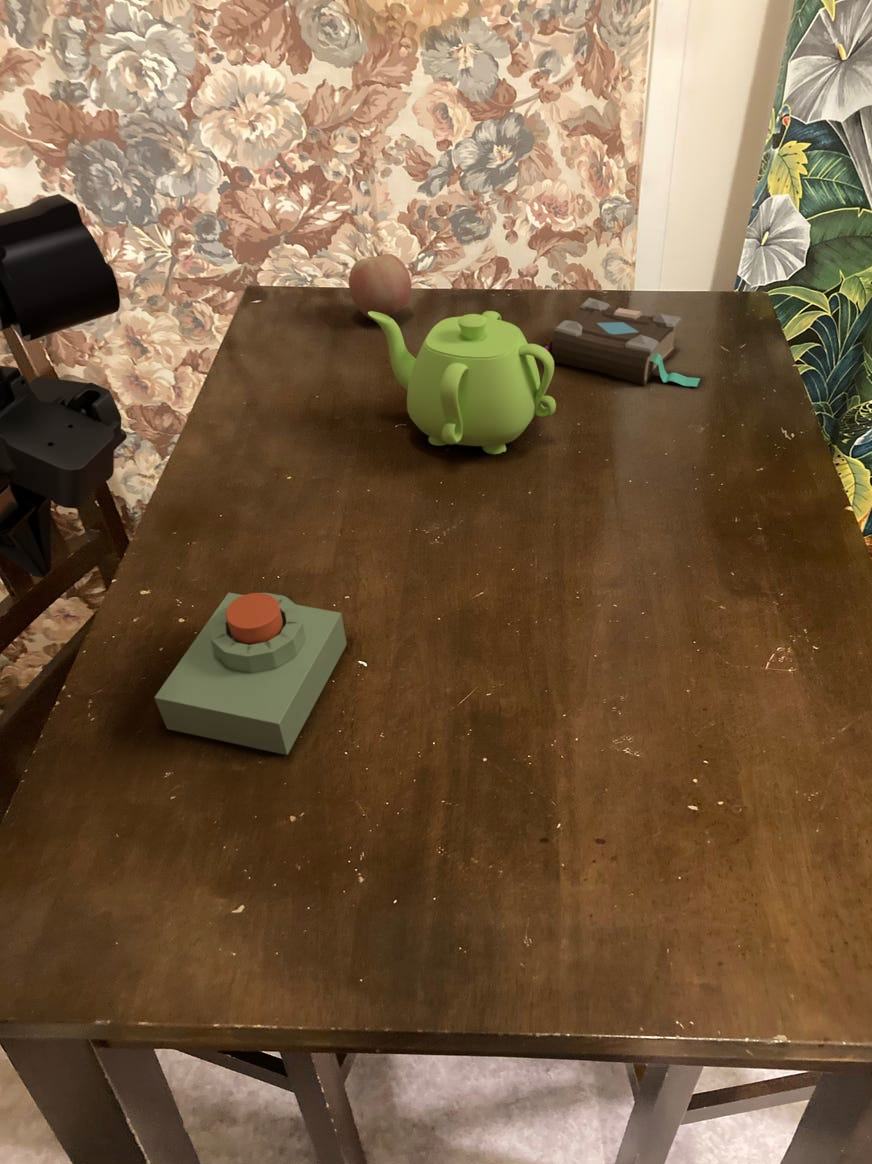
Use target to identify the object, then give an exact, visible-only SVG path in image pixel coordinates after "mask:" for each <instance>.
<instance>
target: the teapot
mask: <svg viewBox="0 0 872 1164" xmlns="http://www.w3.org/2000/svg"><path fill="white" fill-rule="evenodd" d="M368 315H369V316H370V317H371V318H373V319H374V320H373V321H374V322H376V323H377V324H378V325H379V327H380V328H381V329H382V331H383V333H384V336H385V337H386V342H387V347H388V354H389V361H390V365H391V370H392V373H393V375H394V376H395V379H396V380H397V381H398V383H399V384H400V386H402V387H403V388H404V389H405V390H406V391H407V394H406V409H407V413H408V416H409V418H410V420H412V422H413V423H414V425H416V427H417V428H418V429H419V430H420V431H421V432H422V433H424V434H425V435H426V436H429V437H428V439H427V440H428V443H429V444H431V445H432V446H437V447H440V446H446V445H460V446H468V447H482V450H483V452H484V453H487V454H490V455H497V454H498V455H499V454H501V453H503V452H504V453H505V452H507V447H506V444H509V443H511V442H514V441H515V440H516V439H518V438H519V437H520V435H521V434H523V432H524V431H525V430H526V428H527V427H528V426H529V425H530V423H531V422H532V420H533V419H534V417H535V416H536V417H538V418H542V419H545V418H549V417H551V416H552V415H553V414H554V413H555V412H556V410H557V401H556V400H555V399H554V398H553V397H552V395H545V394H546V392H547V390H548V389H549V386H550V384H551V382H552V379H553V376H554V371H555V362H554V360H553V358H552V353H550V352H548V351H547V350H546V349H545V348H544V347H543V346H541V345H539V344H536V343H528V341H527V339H526V337H525V335H524V333H523V332H522V330H521V329H520V327H518V326H517V325H515V324H514V323H510V322H509V321H505V320H502V316H501V314H500V313H499V312H497V311H494V310H486V311H483V312H482V314H479V313H478V314H477V313H468V314H464V315H462V316H453V317H448V318H443V319H442V320H440V321H439V322H438V323H436V324H435V325H434V326H433V327H432V328H431V329H430V331H429V332H428V334H426V336H425V339H424V341H423V342H422V344H421V346H420V349H419V351H418V354H417V356H416V357H415V356H413V355H412V354H411V353H410V352H409V350H408V349H407V346H406V344H405V340H404V337H403V334H402V331H401V328H400V327H399V325H398V323H397V322H396V321H395V320H394V319H393V318H392V317H391V316H390V317H389V316H387V315H385V314H382V313H378V312H373V311H370V312H368ZM535 358H536V359H538V360H539V361H540V362H541V363H542V365H543V368H544V372H543V375H542V378H541V379H540V373H539V368H538V365H537V361H536V359H535ZM543 404H546V405H547V407H546V406H543Z"/></svg>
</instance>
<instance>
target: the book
mask: <svg viewBox="0 0 872 1164" xmlns="http://www.w3.org/2000/svg"><path fill="white" fill-rule="evenodd" d="M681 323H682V318H681V316H676V315H672V314H671V315H670V314H665V313H664V314H663V313H655V314H653V315H652V316H651V315H644V314H643V312H642V310H634V309H626V308H622V307H618V308H614V307H611V305H610V304H609V303H608V302H605V301H601V300H598V299H596V298H593V297H588V298H587V299H586V300H585V301H584V302H583V303H581V304H580V305H579V311H577V312H576V313H575V315H574V316H572V317H571V318H570V319H568V320H566V319H565V320H563V321H562V322H561V323H559V325H557V326H556V327H555V328H554V329H553V337H552V340H551V341H550V344H549V345H545V346H544V347H543V348H545V349H546V350H547V351H548V352H549V353H550V352H551V356H552V358H553V360H554V363H558V364H562V365H566V366H570V367H571V366H572V367H576V368H579V369H584V370H589V371H592V372H593V371H594V372H598V373H602V374H605V375H608V376H611V377H615V378H618V379H621V380H625V381H628V382H631V383H635V384H639V385H642V386H646V384H647V383H648V382H649V380H650V379H651V378H652V376H653V375H654V374H655V372H656V371H657V370H658V371H659V376H660V378H661V381H662V382H663V383H667V382H674V383H676V384H679V385H681V386H684V387H696V388H697V387H698V386H699V382H700V380H701V378H699V377H688V376H685V375H682V374H680V373H677V372H670V373H667V371H666V369H665V366H664V362H665V361H666V360H667V359H668V358H669V357H670V356H671V355H672V354H674V352H675V347H674V342H675V334H676V330H677V328H678V327H679V326H680V324H681Z"/></svg>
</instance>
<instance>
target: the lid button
mask: <svg viewBox="0 0 872 1164" xmlns="http://www.w3.org/2000/svg"><path fill="white" fill-rule="evenodd" d="M264 593H265V592H252V593H247V594H242V595H243V596H241V597H239V598H237V599H235V600H234V601H233V602H232V603H231V604H230V605H229V606H228V608H227V610H226V619H227V623H228V626H229V629H230V633H231V635H232V637H233V638H234V639H235V640H236V641H238V642H240V643H243V644H248V645H253V644H258V643H263V642H267V641H269V640H271V639H272V638H274V637H275V636H277V635H278V634H279V632H280V631H281V629H282V626H283V620H282V616H281V612H280V607H279V604H278V602H277V600H276V599H275V598H274V597H272V596H270V595H268V594H264Z"/></svg>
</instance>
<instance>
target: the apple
mask: <svg viewBox="0 0 872 1164" xmlns="http://www.w3.org/2000/svg"><path fill="white" fill-rule="evenodd" d="M348 288H349V292H350V295H351V299H352V301H353V303H354V305H355V306H356V308H357V309H358V311H360V313H362V315H364V316H365V317H366V318H368V319H370V320H372V321H375V320H374V319H373V318H371V317H370V316H369V315H368V312H370V311H373V312H378V313H382V314H385V315H387V316H389V317H390V318H391V317H392V316H394V315H395V314H396V313H398V312H400V311H402V310H403V309H404V308H405V307H407V305H408V304H409V302H410V300H411V297H412V279H411V276H410V272H409V270H408V268H407V266H406V265H405V263H404V262H403V261H402V259H400V258H399V257H398V256H397V255H394V254H392V253H385V254H382V255H377V256H376V255H375V256H369V257H365V258H362V259H359V260H357V261H356V262H354V264H353V265H352V267H351V269H350V271H349V275H348Z"/></svg>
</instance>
